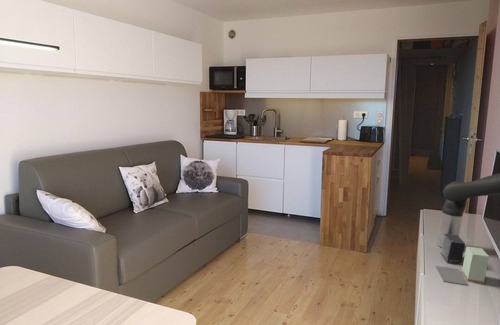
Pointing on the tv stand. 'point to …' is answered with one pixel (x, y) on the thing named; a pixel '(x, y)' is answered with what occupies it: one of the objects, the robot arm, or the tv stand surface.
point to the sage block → (475, 265)
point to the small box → (452, 249)
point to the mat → (451, 275)
